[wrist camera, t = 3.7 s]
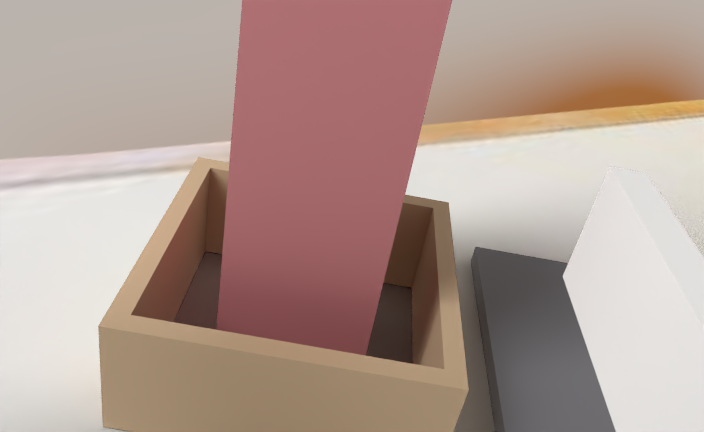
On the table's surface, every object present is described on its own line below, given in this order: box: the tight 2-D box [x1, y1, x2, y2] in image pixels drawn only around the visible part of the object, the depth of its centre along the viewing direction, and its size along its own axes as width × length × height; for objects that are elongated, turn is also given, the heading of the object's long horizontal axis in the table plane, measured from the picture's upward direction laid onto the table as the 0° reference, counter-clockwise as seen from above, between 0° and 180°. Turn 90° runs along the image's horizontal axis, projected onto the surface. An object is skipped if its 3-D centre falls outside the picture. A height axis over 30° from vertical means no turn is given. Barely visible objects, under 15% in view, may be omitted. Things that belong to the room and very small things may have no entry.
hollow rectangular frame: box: [98, 157, 469, 432], centre depth 29 cm, size 13×13×5 cm
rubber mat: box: [471, 247, 616, 432], centre depth 32 cm, size 10×14×1 cm
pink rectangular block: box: [216, 0, 452, 356], centre depth 25 cm, size 6×6×20 cm
